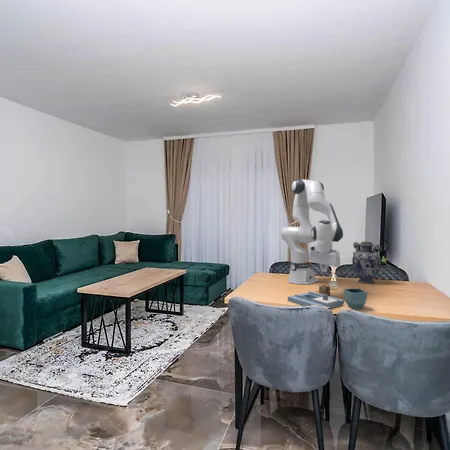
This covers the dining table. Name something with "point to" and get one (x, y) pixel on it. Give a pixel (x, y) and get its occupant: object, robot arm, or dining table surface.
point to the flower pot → (355, 297)
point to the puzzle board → (307, 300)
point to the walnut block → (324, 290)
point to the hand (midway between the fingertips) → (324, 271)
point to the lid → (325, 299)
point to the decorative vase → (366, 261)
